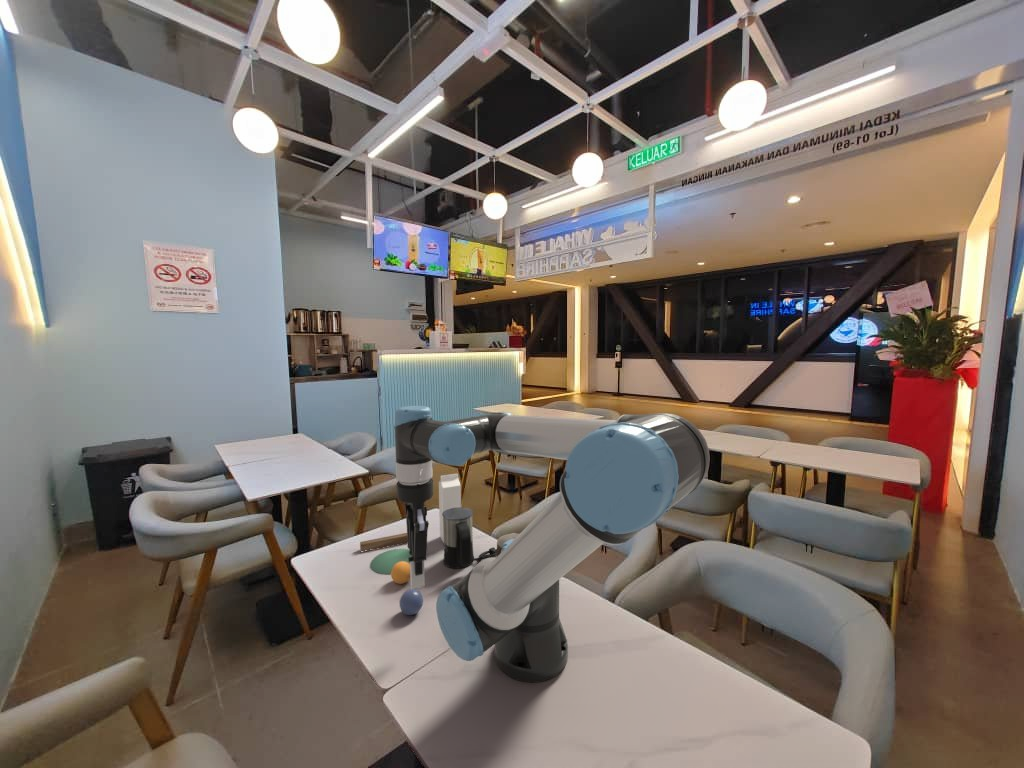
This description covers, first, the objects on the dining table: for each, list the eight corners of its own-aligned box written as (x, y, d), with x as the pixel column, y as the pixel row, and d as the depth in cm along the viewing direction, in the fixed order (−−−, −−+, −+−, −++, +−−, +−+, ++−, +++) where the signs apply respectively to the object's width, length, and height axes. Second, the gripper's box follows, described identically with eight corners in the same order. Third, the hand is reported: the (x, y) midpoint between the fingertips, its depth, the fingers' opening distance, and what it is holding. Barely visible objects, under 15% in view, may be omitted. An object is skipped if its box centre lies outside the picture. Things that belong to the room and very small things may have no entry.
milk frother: (437, 559, 119) (436, 512, 118) (480, 543, 129) (479, 498, 128) (463, 580, 108) (462, 528, 107) (507, 560, 118) (507, 512, 117)
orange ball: (414, 584, 106) (413, 565, 105) (393, 590, 104) (392, 570, 103) (410, 574, 111) (409, 555, 110) (390, 579, 109) (389, 560, 108)
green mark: (423, 566, 115) (423, 566, 115) (373, 578, 109) (372, 578, 109) (414, 545, 127) (414, 545, 127) (368, 555, 121) (368, 554, 121)
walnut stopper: (418, 540, 131) (418, 533, 131) (360, 552, 123) (360, 544, 123) (417, 537, 133) (417, 530, 132) (360, 549, 125) (360, 542, 125)
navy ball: (425, 616, 93) (425, 594, 93) (401, 623, 91) (401, 600, 90) (420, 603, 98) (420, 581, 98) (398, 609, 96) (397, 587, 95)
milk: (461, 540, 130) (461, 476, 128) (443, 544, 128) (442, 478, 126) (456, 533, 136) (455, 470, 134) (439, 536, 134) (438, 473, 132)
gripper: (440, 486, 79) (442, 598, 81) (425, 468, 91) (428, 566, 93) (401, 492, 76) (405, 608, 78) (392, 473, 87) (395, 574, 89)
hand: (417, 585), depth 85 cm, fingers closed
